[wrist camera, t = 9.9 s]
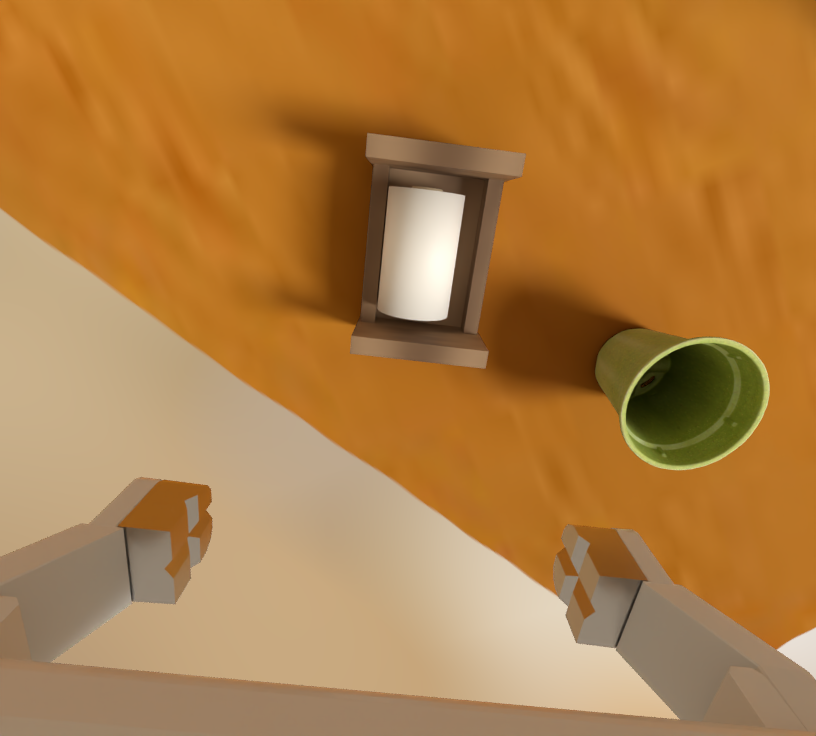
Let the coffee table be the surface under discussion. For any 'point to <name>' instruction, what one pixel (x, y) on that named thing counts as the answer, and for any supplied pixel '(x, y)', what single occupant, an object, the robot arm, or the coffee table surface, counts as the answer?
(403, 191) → the paper roll
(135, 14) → the coffee table surface
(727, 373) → the plant pot
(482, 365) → the walnut cradle
